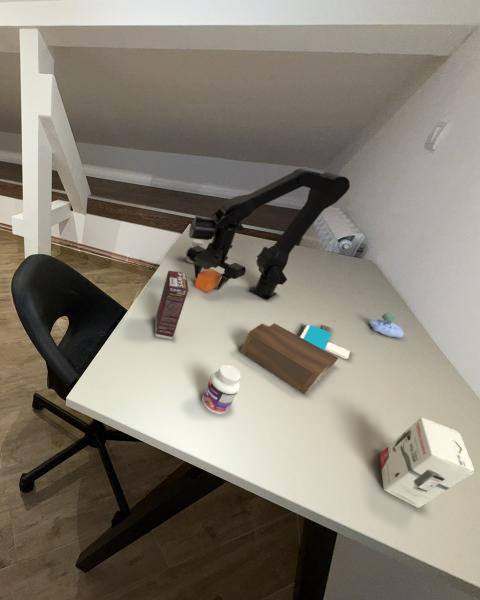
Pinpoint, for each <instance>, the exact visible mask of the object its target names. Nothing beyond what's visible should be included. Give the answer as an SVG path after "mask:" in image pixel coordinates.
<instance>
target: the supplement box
mask: <svg viewBox="0 0 480 600" xmlns="http://www.w3.org/2000/svg"><path fill="white" fill-rule="evenodd" d="M188 293H189V284H188V278H187V273H185V272H182V271H181V272H180V271H174V270H168V271H167V275H166V277H165V281H164V285H163V289H162V293H161V295H160V296H161V297H160V300H159V304H158V308H157V312H156V315H155V321H154V323H155V329H154V336H155V337H158V338H163V339H167V340H173V339H174V336H175V333H176V330H177V327H178V323H179V320H180V317H181V314H182V311H183V308H184V305H185V302H186V299H187V296H188Z"/></svg>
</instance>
